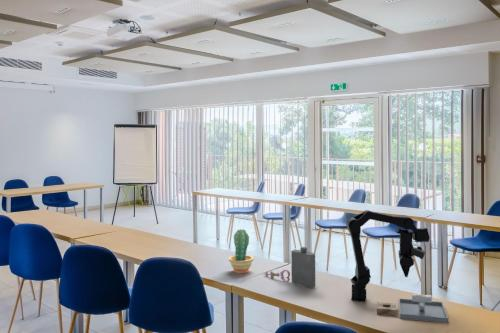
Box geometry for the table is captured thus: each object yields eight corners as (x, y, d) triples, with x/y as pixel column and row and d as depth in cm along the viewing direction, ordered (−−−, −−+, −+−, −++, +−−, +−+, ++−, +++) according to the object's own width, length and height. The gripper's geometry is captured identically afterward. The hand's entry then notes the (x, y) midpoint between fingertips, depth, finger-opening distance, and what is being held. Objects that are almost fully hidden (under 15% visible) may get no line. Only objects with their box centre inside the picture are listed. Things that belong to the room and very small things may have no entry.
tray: (399, 318, 187) (399, 313, 187) (398, 302, 205) (398, 298, 205) (448, 322, 181) (448, 318, 181) (442, 306, 199) (442, 302, 199)
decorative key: (265, 280, 251) (291, 282, 237) (263, 280, 250) (289, 282, 236) (263, 268, 252) (289, 269, 237) (262, 268, 251) (287, 270, 236)
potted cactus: (257, 268, 265) (256, 227, 264) (250, 275, 251) (249, 232, 249) (233, 266, 270) (232, 226, 268) (225, 273, 255) (224, 231, 253)
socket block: (377, 313, 192) (377, 308, 192) (377, 307, 200) (377, 301, 199) (396, 315, 190) (396, 310, 189) (395, 308, 197) (395, 303, 197)
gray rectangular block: (412, 311, 193) (412, 295, 193) (411, 309, 195) (411, 293, 195) (431, 312, 191) (431, 297, 190) (431, 310, 193) (431, 295, 193)
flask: (318, 285, 231) (318, 248, 230) (311, 288, 227) (311, 250, 226) (296, 279, 241) (296, 244, 240) (289, 282, 237) (289, 246, 236)
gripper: (425, 247, 197) (425, 281, 198) (422, 238, 215) (422, 269, 216) (399, 246, 200) (399, 279, 201) (398, 237, 218) (398, 268, 219)
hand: (405, 274), depth 209 cm, fingers open, 9 cm apart
